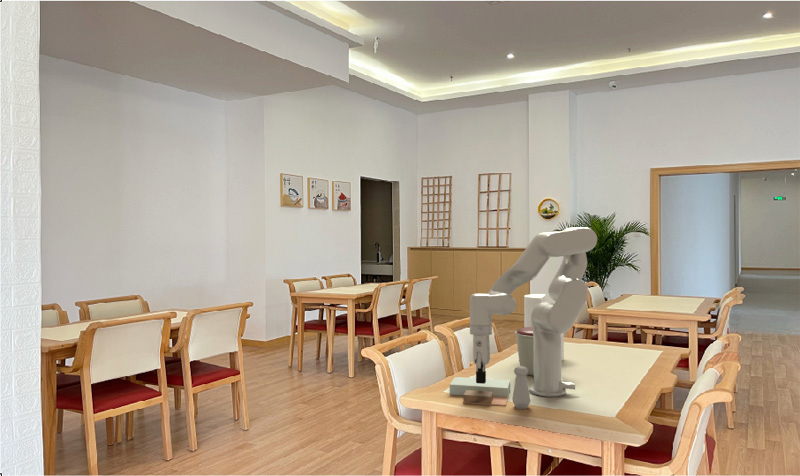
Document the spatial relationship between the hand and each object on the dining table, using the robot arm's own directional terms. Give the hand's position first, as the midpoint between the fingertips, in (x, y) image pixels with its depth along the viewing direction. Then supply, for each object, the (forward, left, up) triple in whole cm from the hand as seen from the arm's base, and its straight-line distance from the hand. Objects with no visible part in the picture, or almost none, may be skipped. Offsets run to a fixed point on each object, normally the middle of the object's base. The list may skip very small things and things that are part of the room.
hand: (480, 382), depth 196 cm
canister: (-18, -38, -5) cm, 43 cm away
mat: (-2, +4, -5) cm, 7 cm away
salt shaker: (-14, +9, -5) cm, 17 cm away
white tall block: (-20, -68, -5) cm, 71 cm away
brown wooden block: (0, +6, -3) cm, 7 cm away
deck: (+1, -6, -5) cm, 8 cm away
